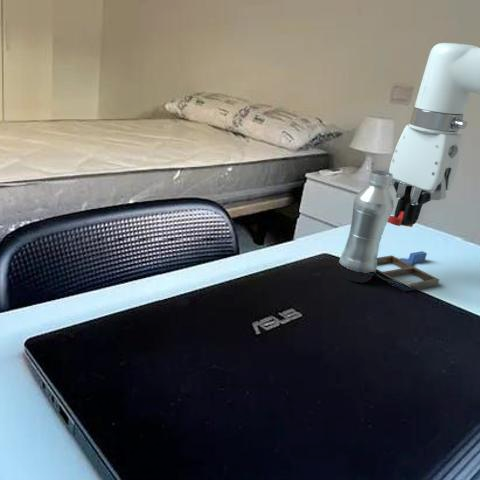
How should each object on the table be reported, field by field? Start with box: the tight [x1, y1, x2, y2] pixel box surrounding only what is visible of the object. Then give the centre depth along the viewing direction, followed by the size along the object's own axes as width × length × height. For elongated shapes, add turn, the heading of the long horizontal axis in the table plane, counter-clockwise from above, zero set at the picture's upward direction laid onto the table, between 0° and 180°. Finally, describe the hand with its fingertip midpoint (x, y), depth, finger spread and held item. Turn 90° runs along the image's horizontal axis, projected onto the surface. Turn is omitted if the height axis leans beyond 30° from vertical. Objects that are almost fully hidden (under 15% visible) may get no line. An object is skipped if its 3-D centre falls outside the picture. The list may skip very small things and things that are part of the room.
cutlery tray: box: [375, 255, 440, 291], centre depth 92 cm, size 9×11×2 cm
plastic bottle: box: [338, 169, 395, 273], centre depth 87 cm, size 6×7×20 cm
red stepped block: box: [387, 211, 414, 228], centre depth 91 cm, size 6×2×2 cm, turn 116°
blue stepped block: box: [399, 250, 428, 266], centre depth 99 cm, size 6×2×2 cm, turn 116°
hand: (404, 221), depth 92 cm, fingers closed on red stepped block, 1 cm apart
